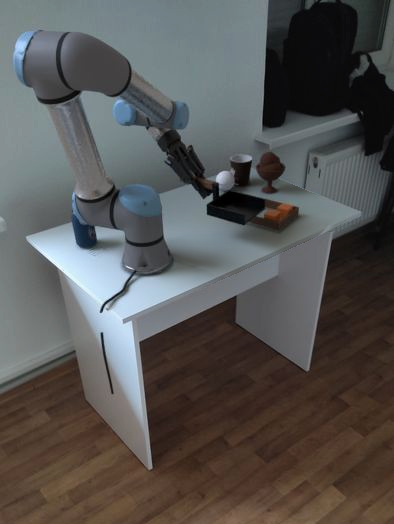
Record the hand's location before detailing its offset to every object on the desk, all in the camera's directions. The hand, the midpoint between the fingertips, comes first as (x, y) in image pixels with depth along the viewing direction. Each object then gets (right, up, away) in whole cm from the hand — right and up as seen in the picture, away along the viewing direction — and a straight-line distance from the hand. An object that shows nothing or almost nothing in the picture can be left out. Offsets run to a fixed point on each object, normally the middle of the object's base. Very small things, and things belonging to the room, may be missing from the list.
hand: (208, 195), depth 166 cm
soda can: (-40, -16, +2) cm, 43 cm away
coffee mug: (+14, +17, +37) cm, 43 cm away
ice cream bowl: (+24, +11, +30) cm, 40 cm away
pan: (+3, -4, +1) cm, 5 cm away
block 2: (+25, -2, +10) cm, 27 cm away
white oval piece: (+8, +11, +31) cm, 34 cm away
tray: (+21, -5, +12) cm, 24 cm away
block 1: (+20, -5, +7) cm, 22 cm away
